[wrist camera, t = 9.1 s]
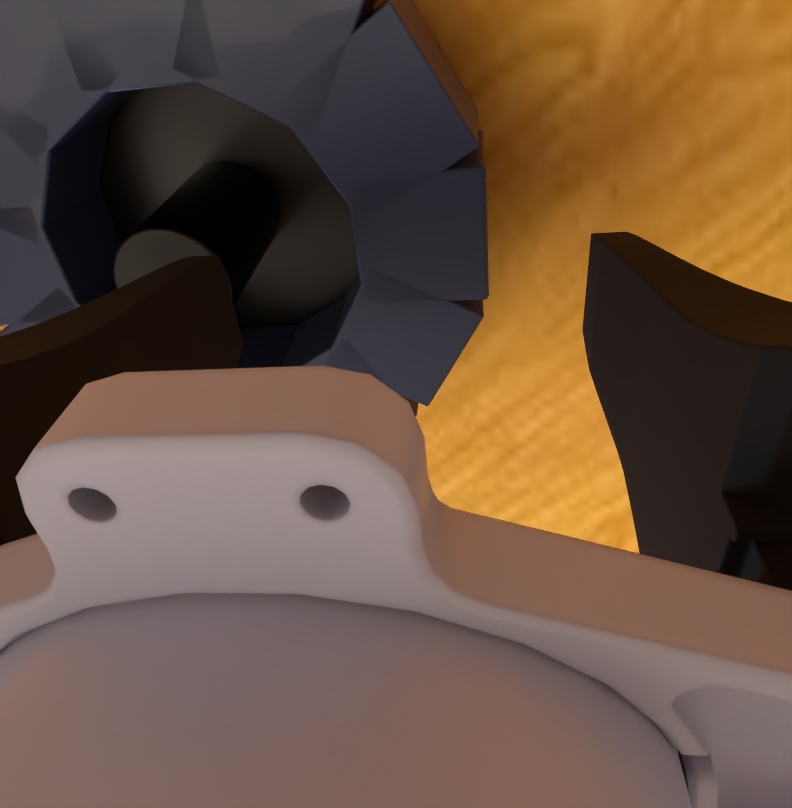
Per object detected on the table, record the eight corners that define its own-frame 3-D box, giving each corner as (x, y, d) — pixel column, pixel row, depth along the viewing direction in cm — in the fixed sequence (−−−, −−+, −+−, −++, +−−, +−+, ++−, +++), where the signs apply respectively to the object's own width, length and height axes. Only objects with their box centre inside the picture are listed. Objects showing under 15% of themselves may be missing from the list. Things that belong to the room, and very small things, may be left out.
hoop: (236, 459, 23) (210, 522, 21) (-110, 145, 17) (-202, 183, 15) (574, 272, 18) (592, 327, 15) (241, -284, 12) (184, -334, 9)
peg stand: (240, 373, 22) (183, 491, 18) (20, 151, 18) (-127, 229, 14) (462, 237, 19) (461, 341, 14) (250, -81, 14) (153, -78, 10)
